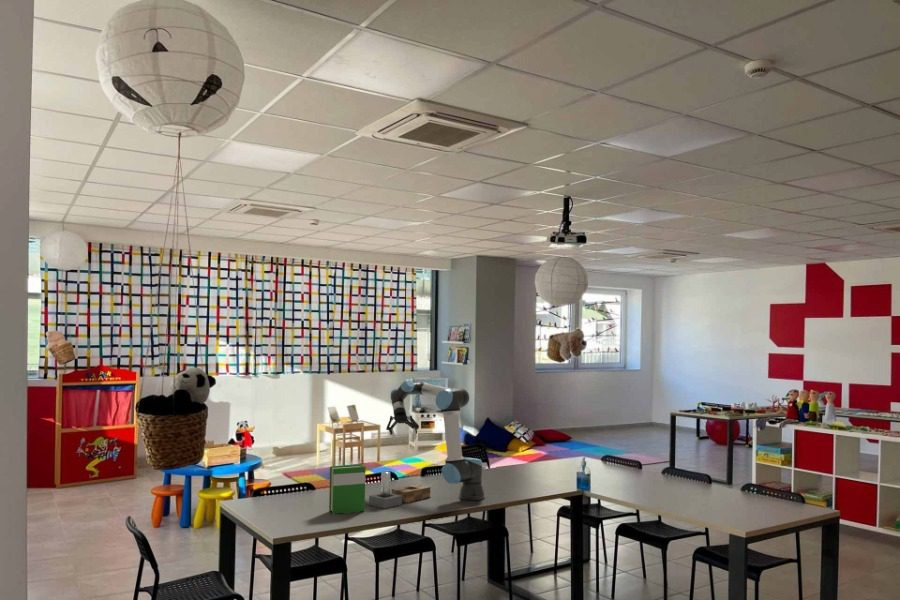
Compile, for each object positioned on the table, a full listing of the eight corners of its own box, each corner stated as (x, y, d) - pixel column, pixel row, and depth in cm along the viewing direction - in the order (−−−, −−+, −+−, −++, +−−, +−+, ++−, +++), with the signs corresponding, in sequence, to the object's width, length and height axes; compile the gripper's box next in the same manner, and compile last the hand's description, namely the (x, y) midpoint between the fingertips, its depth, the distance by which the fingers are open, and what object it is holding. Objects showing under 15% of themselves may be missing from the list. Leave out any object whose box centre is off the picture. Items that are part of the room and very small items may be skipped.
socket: (401, 504, 385) (401, 495, 385) (384, 508, 375) (384, 499, 376) (386, 501, 394) (386, 492, 394) (368, 504, 384) (369, 495, 385)
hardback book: (332, 514, 361) (333, 468, 363) (329, 511, 368) (330, 466, 370) (364, 511, 369) (365, 466, 370) (360, 508, 375) (361, 464, 377)
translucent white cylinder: (391, 504, 385) (392, 472, 386) (385, 506, 381) (385, 473, 382) (385, 503, 388) (386, 471, 389) (379, 504, 385) (379, 472, 386)
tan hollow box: (430, 497, 404) (430, 487, 404) (405, 503, 389) (405, 492, 390) (415, 494, 412) (416, 484, 412) (391, 499, 397) (391, 489, 398)
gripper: (417, 414, 434) (423, 441, 418) (378, 414, 426) (383, 442, 411) (419, 406, 429) (425, 433, 414) (380, 407, 422) (385, 434, 406)
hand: (404, 438), depth 412 cm, fingers open, 13 cm apart
